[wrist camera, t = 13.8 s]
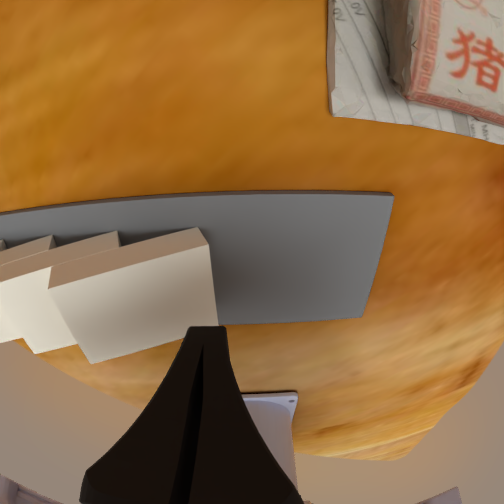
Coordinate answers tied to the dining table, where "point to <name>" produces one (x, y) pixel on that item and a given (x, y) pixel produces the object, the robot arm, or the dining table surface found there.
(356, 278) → the mat
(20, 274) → the domino
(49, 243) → the domino
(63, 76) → the dining table surface
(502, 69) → the packaged product
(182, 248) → the domino
